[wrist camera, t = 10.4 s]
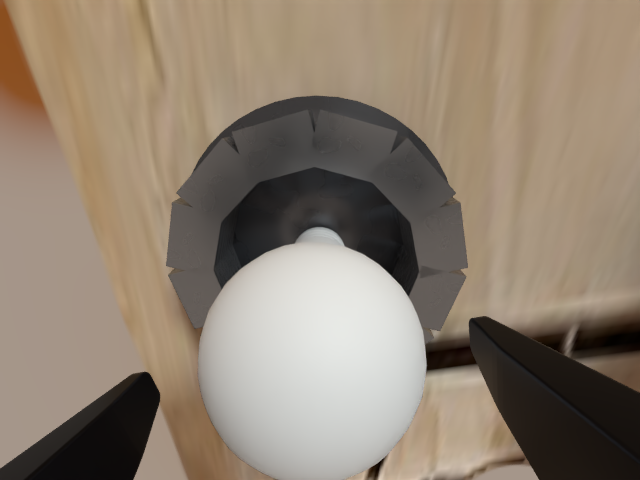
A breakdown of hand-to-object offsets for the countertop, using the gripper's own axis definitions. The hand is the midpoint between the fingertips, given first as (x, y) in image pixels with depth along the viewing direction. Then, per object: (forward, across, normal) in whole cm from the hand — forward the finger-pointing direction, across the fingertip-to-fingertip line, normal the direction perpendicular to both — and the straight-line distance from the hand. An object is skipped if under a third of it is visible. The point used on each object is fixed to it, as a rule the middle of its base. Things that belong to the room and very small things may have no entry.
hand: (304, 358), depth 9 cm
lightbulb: (+8, 0, 0) cm, 9 cm away
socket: (+9, 0, 0) cm, 9 cm away
